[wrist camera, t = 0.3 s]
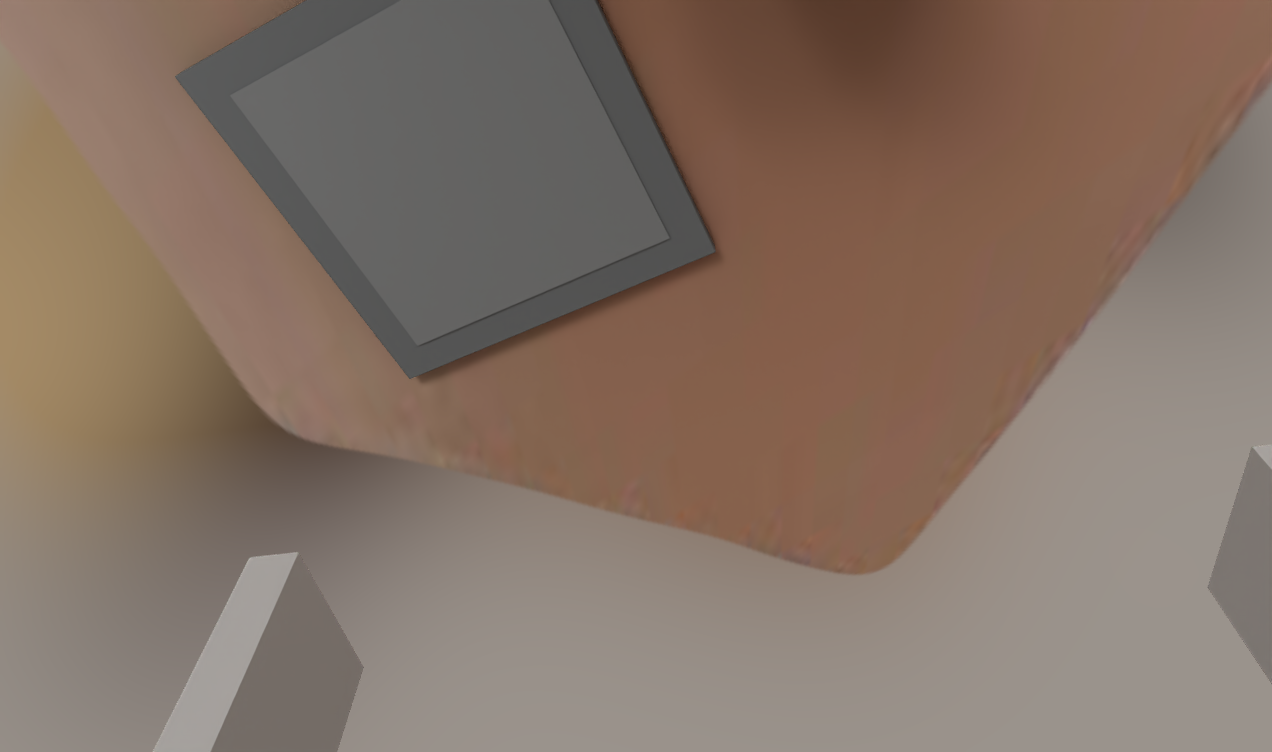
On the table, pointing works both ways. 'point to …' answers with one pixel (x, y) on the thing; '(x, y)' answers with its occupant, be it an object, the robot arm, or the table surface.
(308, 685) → the robot arm
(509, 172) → the coaster mat
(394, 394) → the table surface
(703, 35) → the table surface
